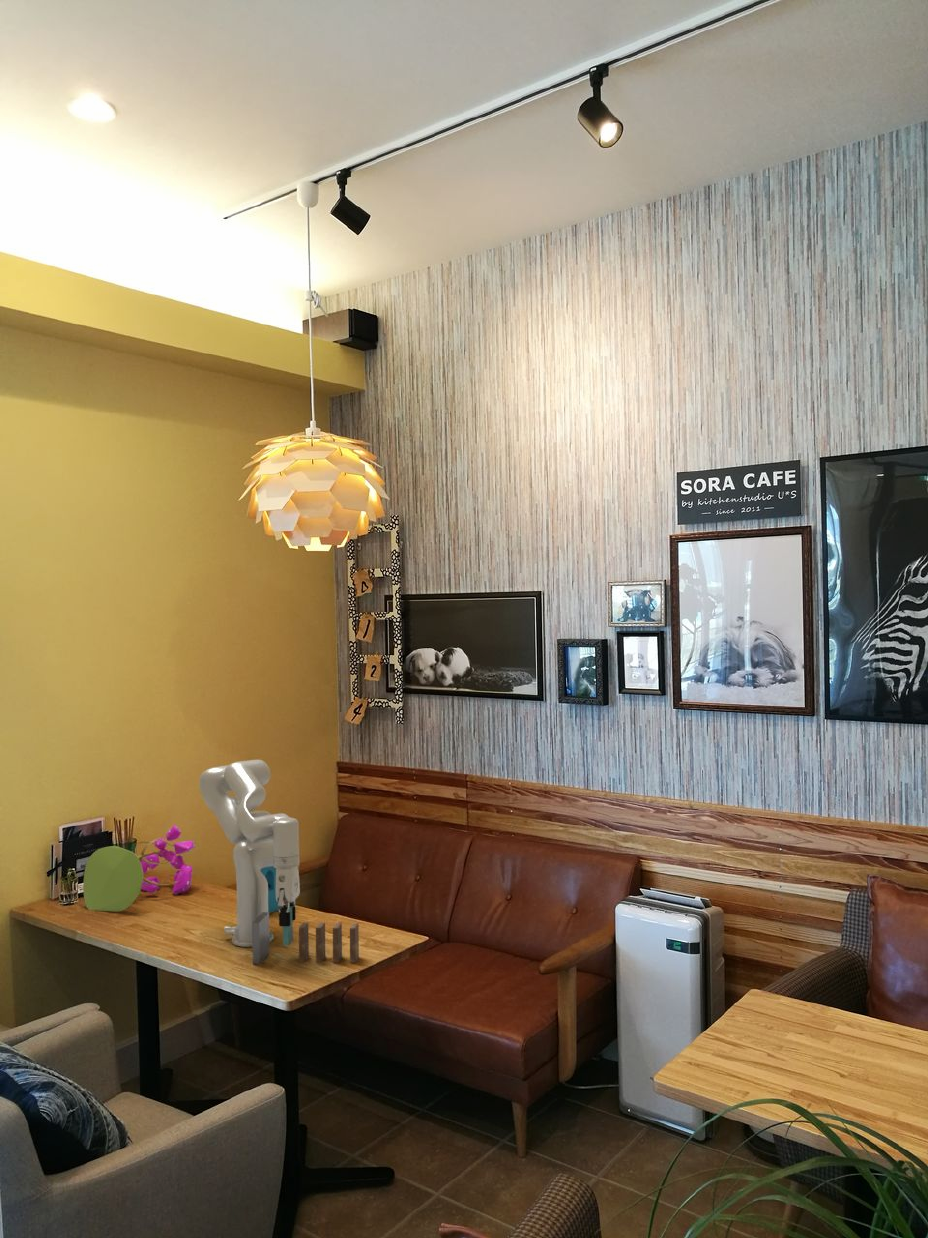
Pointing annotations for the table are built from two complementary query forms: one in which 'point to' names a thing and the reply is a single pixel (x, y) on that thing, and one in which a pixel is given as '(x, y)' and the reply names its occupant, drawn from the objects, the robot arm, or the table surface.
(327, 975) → the table surface
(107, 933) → the table surface
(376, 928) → the table surface
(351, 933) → the walnut tile
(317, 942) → the walnut tile
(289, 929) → the teal tile
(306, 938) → the walnut tile
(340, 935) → the walnut tile
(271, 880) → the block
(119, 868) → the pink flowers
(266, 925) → the bookend
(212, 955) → the table surface
